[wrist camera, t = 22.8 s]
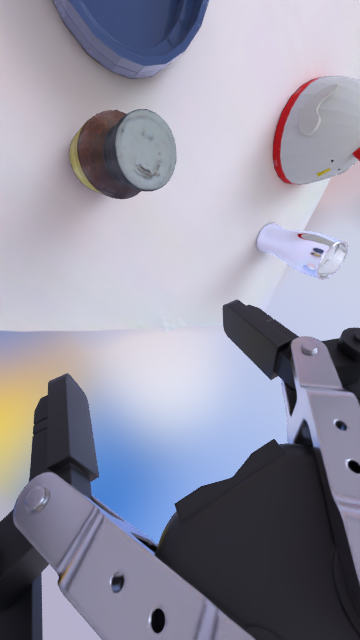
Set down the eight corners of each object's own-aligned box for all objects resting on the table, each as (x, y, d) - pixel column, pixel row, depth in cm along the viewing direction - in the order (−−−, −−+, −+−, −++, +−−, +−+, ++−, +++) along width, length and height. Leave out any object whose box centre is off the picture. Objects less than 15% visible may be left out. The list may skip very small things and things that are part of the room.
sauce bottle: (97, 200, 30) (139, 237, 16) (56, 155, 26) (60, 148, 11) (131, 166, 30) (206, 170, 15) (94, 113, 25) (149, 51, 11)
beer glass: (285, 226, 47) (355, 246, 37) (269, 257, 50) (329, 284, 39) (266, 215, 44) (337, 234, 33) (249, 249, 47) (309, 276, 36)
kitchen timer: (259, 159, 37) (346, 159, 26) (310, 53, 32) (445, -3, 21) (300, 196, 45) (380, 208, 34) (346, 116, 40) (458, 99, 29)
